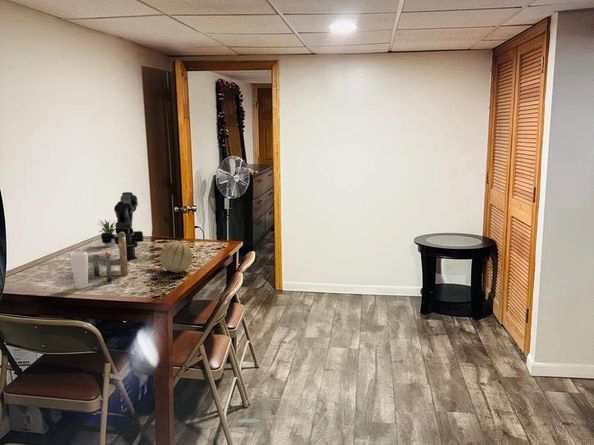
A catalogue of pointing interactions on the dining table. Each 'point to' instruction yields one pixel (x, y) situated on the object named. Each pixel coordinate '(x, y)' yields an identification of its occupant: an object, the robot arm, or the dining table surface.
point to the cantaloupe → (176, 256)
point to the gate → (121, 256)
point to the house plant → (108, 231)
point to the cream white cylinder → (80, 269)
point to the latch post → (108, 268)
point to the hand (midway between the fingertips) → (122, 252)
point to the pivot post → (96, 267)
